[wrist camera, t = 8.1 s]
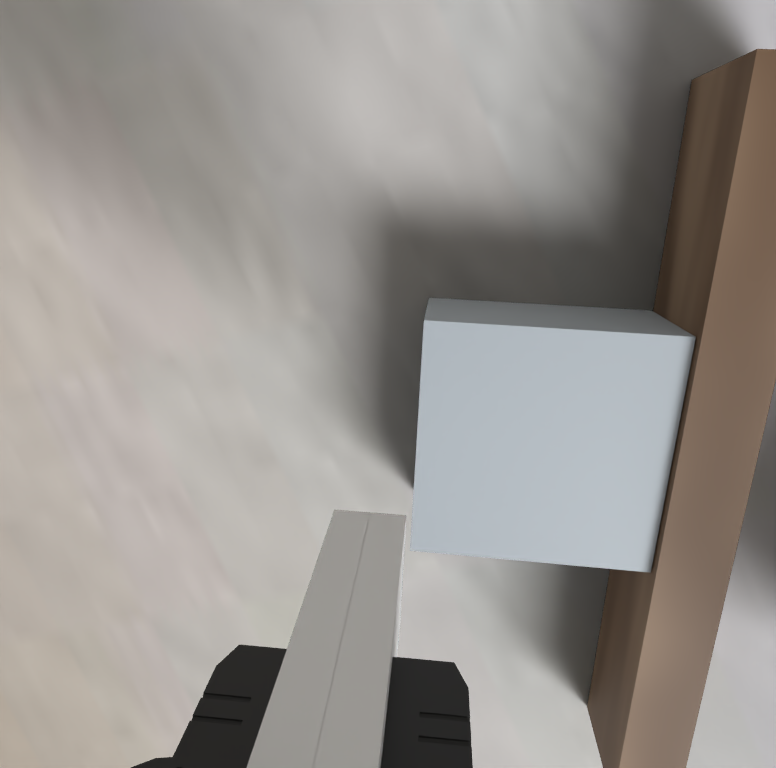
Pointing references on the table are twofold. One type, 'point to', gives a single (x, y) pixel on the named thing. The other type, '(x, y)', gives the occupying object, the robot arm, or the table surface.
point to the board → (700, 419)
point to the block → (546, 431)
